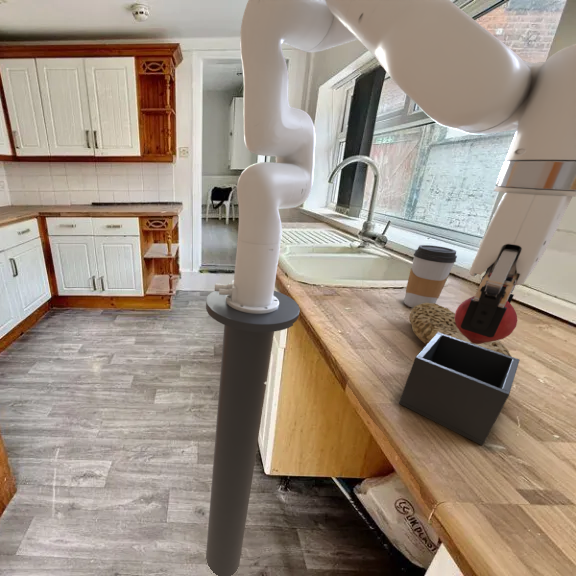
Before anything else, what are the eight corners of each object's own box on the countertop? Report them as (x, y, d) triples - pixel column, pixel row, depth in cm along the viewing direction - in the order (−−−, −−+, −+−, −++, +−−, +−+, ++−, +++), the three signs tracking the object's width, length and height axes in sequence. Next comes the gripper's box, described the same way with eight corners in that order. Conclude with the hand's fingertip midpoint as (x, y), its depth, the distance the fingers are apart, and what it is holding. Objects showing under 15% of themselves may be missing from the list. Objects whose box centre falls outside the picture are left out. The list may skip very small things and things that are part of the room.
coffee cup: (440, 315, 73) (463, 255, 68) (399, 307, 77) (417, 249, 72) (435, 303, 80) (455, 247, 75) (398, 296, 84) (414, 242, 78)
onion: (463, 352, 39) (488, 294, 36) (437, 330, 44) (457, 278, 41) (515, 357, 38) (544, 299, 35) (482, 334, 44) (505, 282, 41)
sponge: (398, 325, 70) (415, 351, 53) (414, 295, 68) (438, 311, 51) (466, 352, 65) (509, 390, 48) (486, 319, 63) (539, 347, 46)
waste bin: (482, 446, 38) (509, 394, 35) (398, 403, 45) (415, 357, 42) (496, 405, 45) (520, 359, 42) (422, 373, 52) (437, 332, 49)
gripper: (508, 178, 41) (460, 299, 48) (485, 178, 31) (428, 333, 38) (594, 181, 36) (527, 317, 43) (602, 182, 26) (512, 362, 32)
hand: (481, 323), depth 40 cm, fingers closed on onion, 5 cm apart
